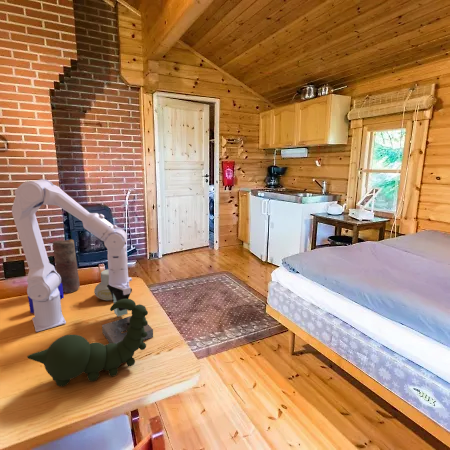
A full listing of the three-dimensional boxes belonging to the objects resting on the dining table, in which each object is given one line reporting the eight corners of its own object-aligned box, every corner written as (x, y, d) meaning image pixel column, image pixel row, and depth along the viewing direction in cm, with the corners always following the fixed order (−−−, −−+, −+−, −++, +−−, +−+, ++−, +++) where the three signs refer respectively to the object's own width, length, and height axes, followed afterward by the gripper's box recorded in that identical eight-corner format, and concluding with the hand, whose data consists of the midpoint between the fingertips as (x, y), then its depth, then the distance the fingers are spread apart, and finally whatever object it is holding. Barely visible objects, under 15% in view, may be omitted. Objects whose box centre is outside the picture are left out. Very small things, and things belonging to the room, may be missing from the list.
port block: (102, 332, 88) (101, 325, 87) (138, 321, 94) (138, 313, 94) (114, 351, 79) (114, 343, 79) (153, 337, 86) (152, 329, 86)
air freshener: (128, 291, 115) (127, 267, 113) (123, 301, 107) (121, 275, 105) (99, 292, 114) (97, 267, 112) (91, 302, 106) (89, 276, 104)
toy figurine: (139, 355, 81) (30, 377, 69) (143, 289, 77) (28, 300, 66) (148, 377, 72) (25, 406, 61) (152, 304, 69) (23, 320, 57)
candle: (53, 292, 114) (47, 242, 109) (66, 285, 121) (61, 237, 116) (71, 294, 112) (66, 243, 108) (83, 286, 119) (79, 238, 115)
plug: (114, 312, 97) (113, 292, 95) (124, 309, 98) (122, 290, 97) (117, 316, 94) (116, 296, 93) (127, 313, 96) (126, 293, 95)
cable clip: (53, 297, 110) (51, 282, 109) (63, 298, 110) (62, 283, 108) (26, 313, 99) (24, 296, 98) (38, 314, 98) (36, 297, 97)
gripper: (139, 271, 90) (141, 312, 93) (122, 258, 101) (124, 295, 104) (115, 276, 86) (118, 319, 88) (101, 262, 97) (103, 301, 100)
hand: (120, 307), depth 96 cm, fingers closed on plug, 3 cm apart
